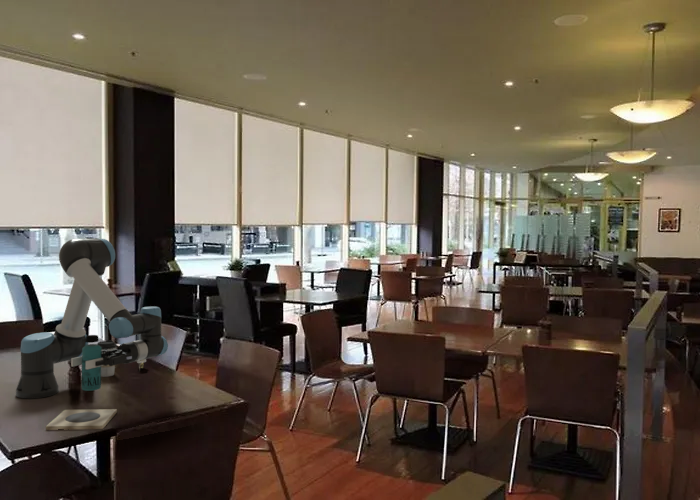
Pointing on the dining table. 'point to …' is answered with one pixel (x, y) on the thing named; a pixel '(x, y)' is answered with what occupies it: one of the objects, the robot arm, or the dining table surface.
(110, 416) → the birch board
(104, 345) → the coffee cup
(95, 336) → the beverage bottle
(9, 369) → the dining table surface
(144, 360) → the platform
